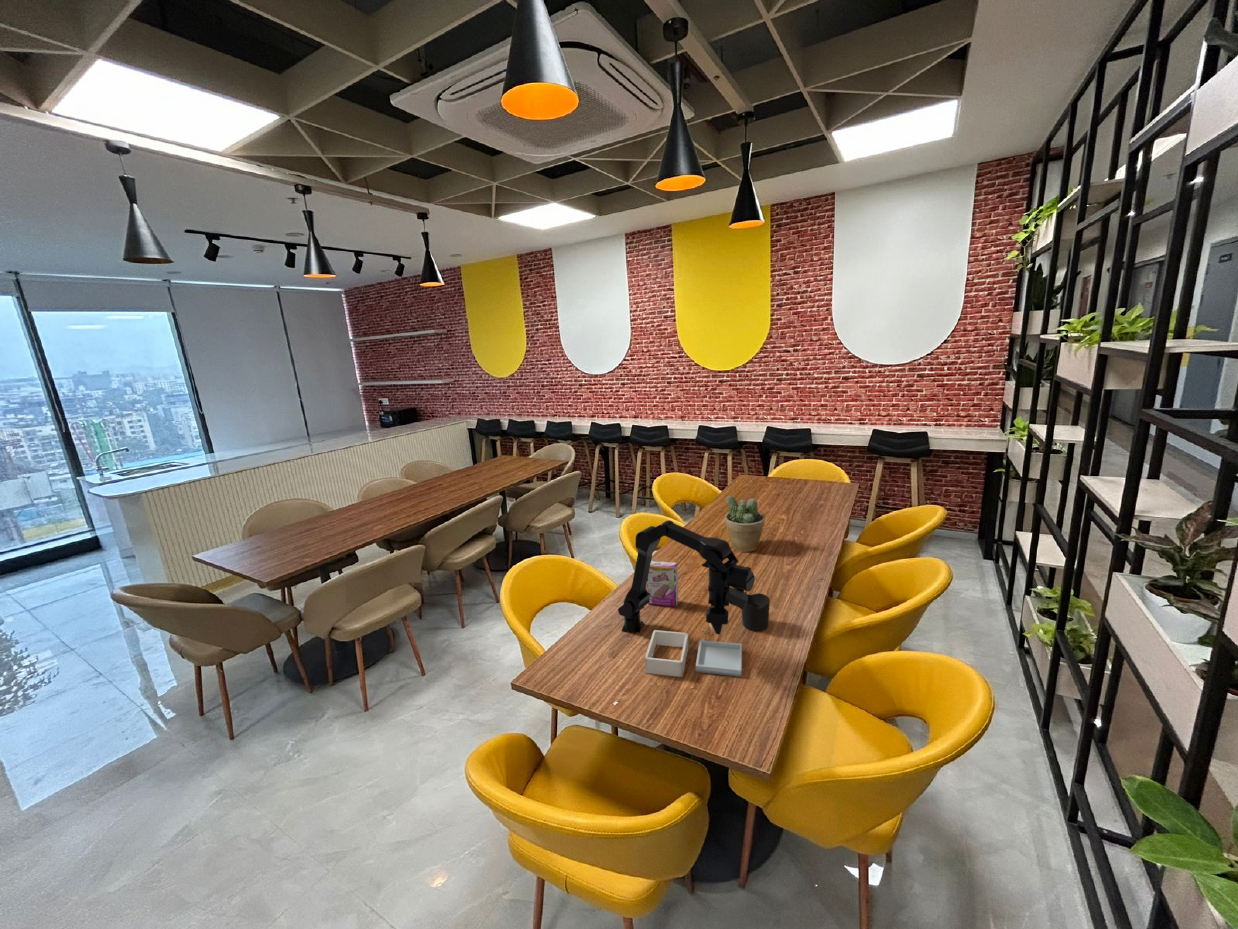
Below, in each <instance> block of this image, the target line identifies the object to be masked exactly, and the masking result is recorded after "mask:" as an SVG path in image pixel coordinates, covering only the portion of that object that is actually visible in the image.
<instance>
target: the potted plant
mask: <svg viewBox="0 0 1238 929" xmlns="http://www.w3.org/2000/svg"><path fill="white" fill-rule="evenodd" d="M725 501H726V504H727V506H728V512H727V513H726V514H725V515H724V522H725V527H726V528H727V529H726V530H727V534H728V539H729V540H730V544H731V547H732V548H733V550H735V551H737V552H739V553H752V552H755V551H756V550H758V547H759V543H760V541H761V537H762V533H763V529H764V527H765V522H766V516H765V515H764V514H762V513H759V512H758V510H759V508H758V507H759V506H758V505H759V504H758V503H759V502H758V501H757V499H755V498H749V499H748V500H747V501H746V500H744V499H741V500H740V501H739V502H737V500H736V498H735V497H734V495H729V496H727V497H726V498H725Z"/></svg>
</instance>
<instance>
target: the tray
mask: <svg viewBox="0 0 1238 929" xmlns="http://www.w3.org/2000/svg"><path fill="white" fill-rule="evenodd" d="M742 658H743V644H742V643H737V642H736V643H735V642H725V641H715V640H714V641H713V640H705V639H704V640H703V639H700V640H699V642H698V649H697V655H696V662H695V673H703V674H710V675H711V674H712V675H721V676H729V677H730V676H731V677H738V678H742V667H743V666H742V661H743V660H742Z"/></svg>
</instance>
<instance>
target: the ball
mask: <svg viewBox="0 0 1238 929" xmlns="http://www.w3.org/2000/svg"><path fill="white" fill-rule="evenodd" d="M729 622H730V621H729V620H728V624H722V629H721V633H720V634H719V635H723V634H725V633H726V632H727V631H728V630H729V628H730V623H729ZM708 625H709V629H710V630H711V631H712V632H713V633H714V634H716V632H715V630H714V628H713V627H712V625H711V623H708Z"/></svg>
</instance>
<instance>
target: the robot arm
mask: <svg viewBox="0 0 1238 929" xmlns="http://www.w3.org/2000/svg"><path fill="white" fill-rule="evenodd" d="M663 537H666V538H668V539H671V540H673V541H675V542H677V543H680V544H681V545H683V546H685V547H686V548H687V547H688V549H689V548H690V549H691V550H693V551H696V552H697V553H698V554H699V555H700V557H701V558H702V559H703V560H705V561H704V562H703V563H702V564H701V566H702V567H703V568H707V569H708V599H707V600H708V604H709V605H710V606H711V607H709V608H707V609H706V614H705V622H706V623H708V624H709V623H711V625H712V627H713V628H714V630H715V632H716V633H715V634H716V635H721V634H720V633H721V629H722V624H728V621H729V610H727V609H726V608H725V607H726V606H727V607H730V605H732V606H735V607H736V608H739V609H741V610H742V609H744V607H745V605H746V603H747V601H748V595H749V594H748V592H751V591H752V589H753V587H754V584H755V580H756V579H755V578H756V576H755V574H754V572H753V571H752V568H751V566H750V567H749V566H744V565H743V566H742V565H740V564H738V563H739V559H737V558H738V557H737V556H736V555H735V553H734V551H733V550H732V548H731V546H730V545H729V542H728V541H727V540H724V539H721V538H718V537H707V536H703V535H701V534H698V533H696V532H694V531H692V530H690V529H687V528H685V527H683V526H681V525H678V524H676V523H674V521H673V520H666V521H663V522H662V523H660V524H658V525H657V526H654V525H650V526H648V527H646V528H644V529H643V530H641V531H639V532H638V533H637V534H636V535H635V545H634V546H635V548H636V551H637V555H636V556H637V557H636V561H635V562H636V563H635V565H634V566H635V567H634V572H633V577H632V581H631V582H632V583H631V587H630V589H629V590H628V592H627V594H626V595H625V598H624V600H623V604H622V605H621V606H620V607H618V608H617V611H618V614H619V616H622V617H623V620H624V623H623V626H622V628H621V631H622V632H627V633H628V632H630V633H641V630H642V628H643V624H644V621H643V620H642V621H641V610H643V609H644V608H645V607H646V606H647V605H649V604H648V603H649V597H650V595H651V594H650V593H648V589H647V579H648V574H649V569H650V564H651V561H652V558H653V554H654V552H655V550H656V549H657V548H658V546H659V544H660V541H661V539H662V538H663ZM725 560H727V561H725ZM724 561H725V562H724Z"/></svg>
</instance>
